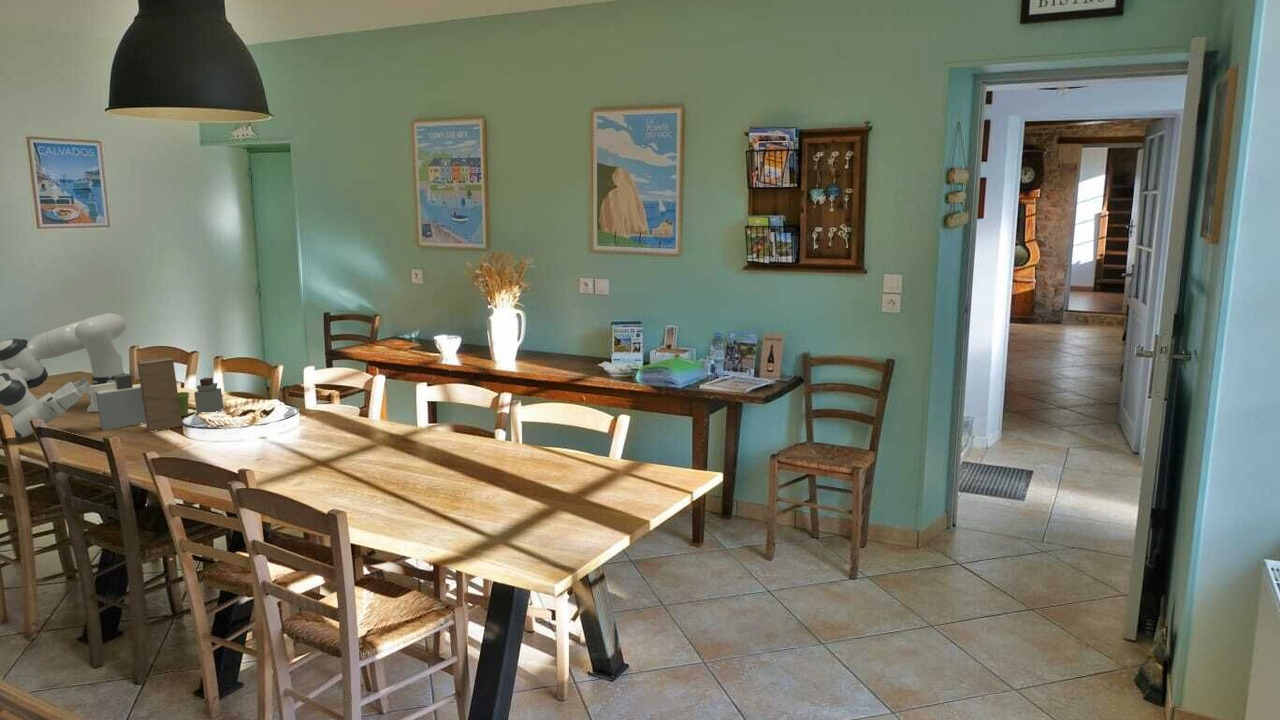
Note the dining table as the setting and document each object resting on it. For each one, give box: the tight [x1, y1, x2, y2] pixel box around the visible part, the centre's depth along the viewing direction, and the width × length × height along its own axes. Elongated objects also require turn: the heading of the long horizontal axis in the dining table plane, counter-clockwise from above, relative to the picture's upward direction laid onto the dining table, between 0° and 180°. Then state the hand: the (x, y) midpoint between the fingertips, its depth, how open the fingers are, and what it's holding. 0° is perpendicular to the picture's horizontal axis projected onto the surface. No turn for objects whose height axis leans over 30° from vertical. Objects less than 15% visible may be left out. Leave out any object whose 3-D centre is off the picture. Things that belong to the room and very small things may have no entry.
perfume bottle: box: [193, 377, 224, 416], centre depth 349 cm, size 7×7×18 cm
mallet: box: [81, 373, 133, 395], centre depth 350 cm, size 17×5×5 cm, turn 126°
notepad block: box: [96, 383, 146, 432], centre depth 354 cm, size 7×16×14 cm, turn 126°
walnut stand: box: [136, 356, 183, 432], centre depth 347 cm, size 8×11×26 cm
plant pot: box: [178, 391, 191, 417], centre depth 366 cm, size 9×9×9 cm
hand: (88, 380), depth 346 cm, fingers open, 8 cm apart
